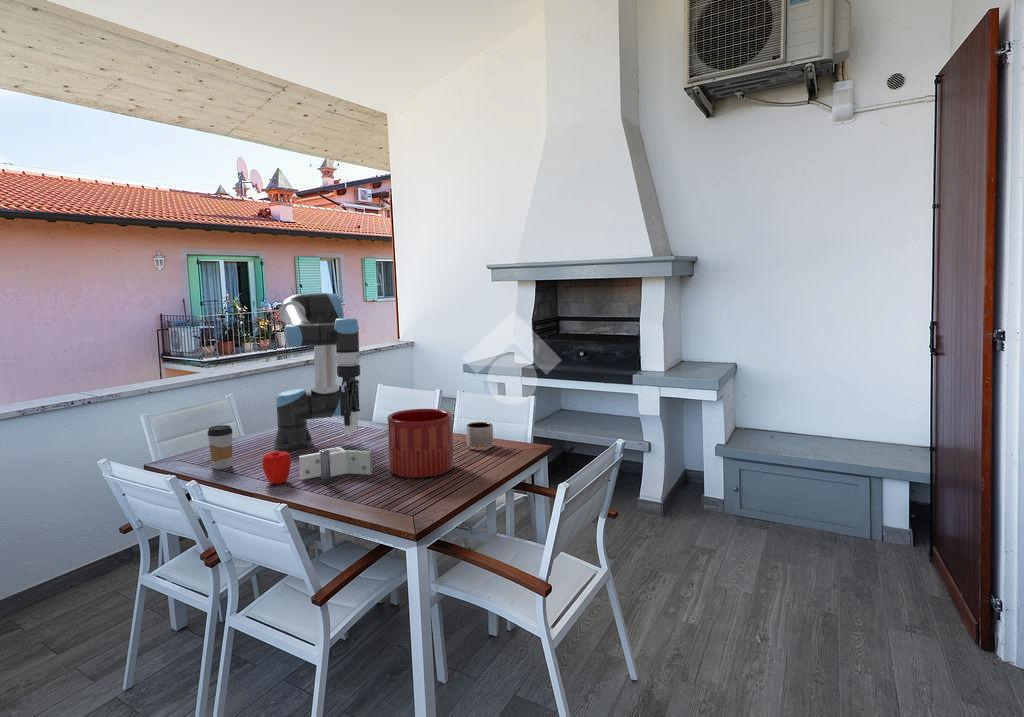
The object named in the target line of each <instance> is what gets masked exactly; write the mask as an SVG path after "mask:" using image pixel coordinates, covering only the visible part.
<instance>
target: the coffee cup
mask: <svg viewBox="0 0 1024 717" xmlns="http://www.w3.org/2000/svg"><path fill="white" fill-rule="evenodd" d="M233 432H234V431H233V429H232V427H231V425H229V424H224V425H222V424H221V425H214V426H211V427H209V428H208V431H207V437H208V443H209V444H208V445H209V453H210V459H211V464H212V467H213V470H226V469H229V468H231V467H232V465H233Z"/></svg>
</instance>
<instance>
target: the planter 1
mask: <svg viewBox="0 0 1024 717" xmlns="http://www.w3.org/2000/svg"><path fill="white" fill-rule="evenodd" d="M386 419H387V448H388V449H387V450H388V453H387V454H388V470H389V472H390V473H392V474H393V475H395V476H397V477H399V478H404V477H405V478H404V479H413V478H419V479H424V478H423V477H430V478H432V477H431V476H435V475H439V474H442V473H444V474H446V473H448V472H449V470H450V469H451V468H452V469H453V467H454V433H453V431H454V430H453V429H454V428H453V425H454V424H453V413H452V412H451V411H448V410H445V409H439V408H414V409H413V408H412V409H404V410H399V411H395V412H393V413H390V414H389V415H388V416H387V418H386ZM452 469H451V470H452ZM451 470H450V471H451ZM447 471H448V472H447ZM445 472H446V473H445ZM442 475H443V474H442ZM439 476H440V475H439ZM435 477H436V476H435Z"/></svg>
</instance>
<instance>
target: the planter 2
mask: <svg viewBox="0 0 1024 717" xmlns="http://www.w3.org/2000/svg"><path fill="white" fill-rule="evenodd" d="M493 429H494V426H493V423H490V422H487V421H485V422H484V421H477V422H476V421H475V422H470V423H467V424H466V447H467V446H469V447H476V448H477V447H487V446H490V445H492V444H493V445H494V433H493V432H494V430H493Z"/></svg>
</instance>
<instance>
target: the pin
mask: <svg viewBox="0 0 1024 717" xmlns="http://www.w3.org/2000/svg"><path fill="white" fill-rule="evenodd" d="M320 459H321V476H320V477H321V484H322V485H327V484H331V483H332V476H331V472H330V451H329V450H324V449H321V451H320Z"/></svg>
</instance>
